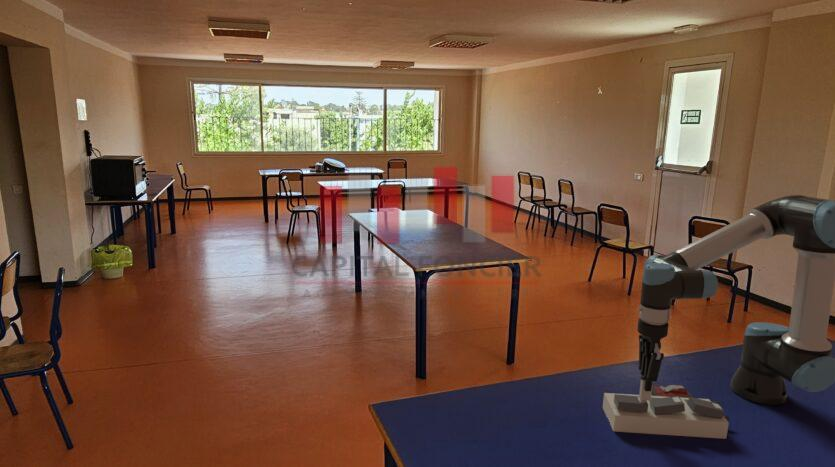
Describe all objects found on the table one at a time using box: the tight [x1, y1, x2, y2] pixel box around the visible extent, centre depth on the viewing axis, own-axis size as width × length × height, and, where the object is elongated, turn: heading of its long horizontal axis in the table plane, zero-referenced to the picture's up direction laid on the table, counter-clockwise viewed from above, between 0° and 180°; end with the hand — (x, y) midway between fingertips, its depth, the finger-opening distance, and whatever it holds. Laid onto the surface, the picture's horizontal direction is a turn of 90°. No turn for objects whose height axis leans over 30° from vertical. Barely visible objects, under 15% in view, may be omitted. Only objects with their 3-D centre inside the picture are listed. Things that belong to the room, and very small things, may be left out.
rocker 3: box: [687, 397, 726, 419], centre depth 143 cm, size 8×4×3 cm, turn 85°
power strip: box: [602, 392, 730, 440], centre depth 148 cm, size 33×12×5 cm, turn 84°
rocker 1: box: [614, 393, 648, 412], centre depth 145 cm, size 8×4×3 cm, turn 84°
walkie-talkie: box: [651, 384, 720, 405], centre depth 160 cm, size 9×4×20 cm
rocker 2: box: [649, 396, 685, 415], centre depth 144 cm, size 8×4×3 cm, turn 84°
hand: (644, 399), depth 144 cm, fingers closed
